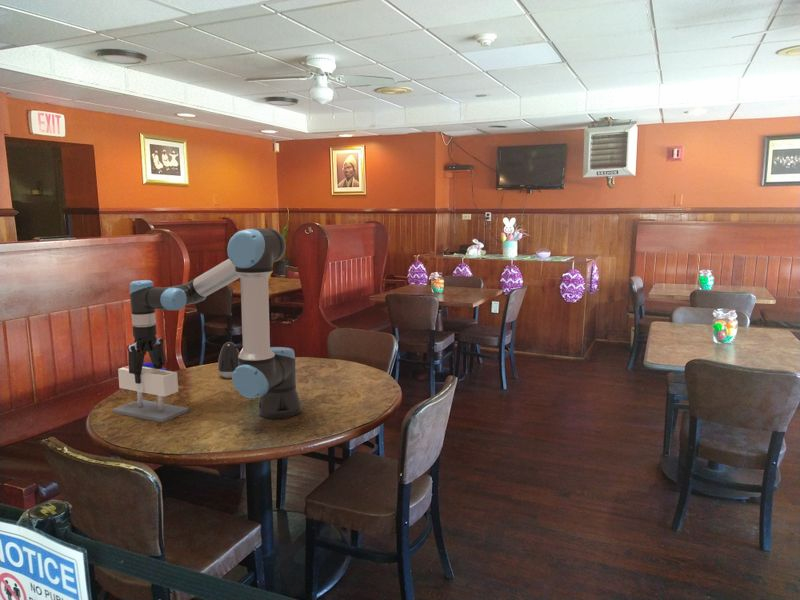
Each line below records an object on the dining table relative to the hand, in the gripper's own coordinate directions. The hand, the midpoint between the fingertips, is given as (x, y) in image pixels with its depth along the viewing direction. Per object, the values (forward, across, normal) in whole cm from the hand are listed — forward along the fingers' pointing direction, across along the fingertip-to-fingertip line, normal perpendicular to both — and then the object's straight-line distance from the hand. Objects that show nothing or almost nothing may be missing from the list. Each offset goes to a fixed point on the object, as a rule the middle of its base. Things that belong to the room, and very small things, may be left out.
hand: (148, 389), depth 202 cm
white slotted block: (0, 0, 0) cm, 0 cm away
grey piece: (+8, 0, 0) cm, 8 cm away
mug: (+9, -19, -20) cm, 29 cm away
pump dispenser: (+9, -46, -4) cm, 47 cm away
